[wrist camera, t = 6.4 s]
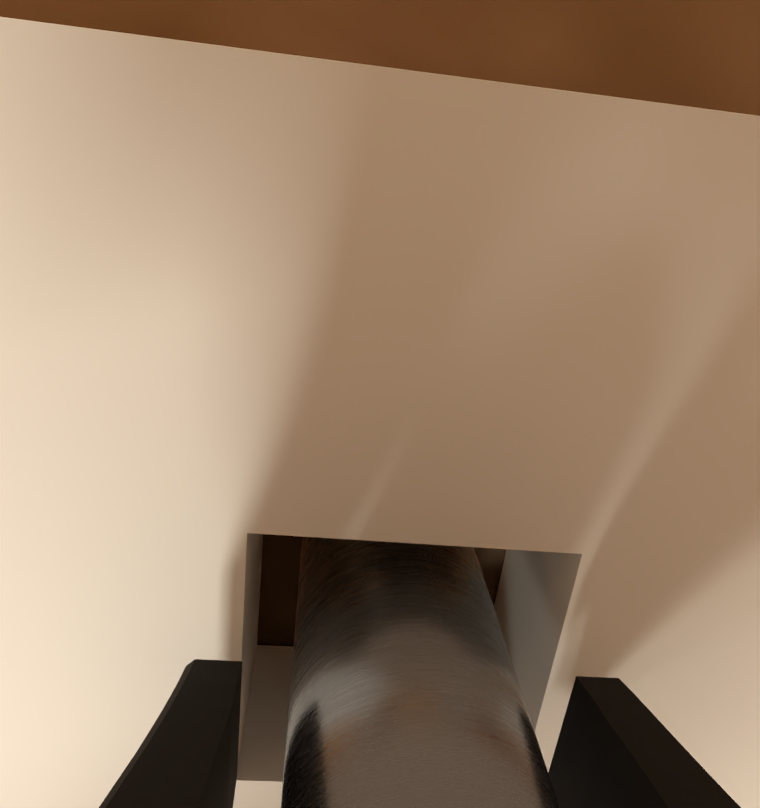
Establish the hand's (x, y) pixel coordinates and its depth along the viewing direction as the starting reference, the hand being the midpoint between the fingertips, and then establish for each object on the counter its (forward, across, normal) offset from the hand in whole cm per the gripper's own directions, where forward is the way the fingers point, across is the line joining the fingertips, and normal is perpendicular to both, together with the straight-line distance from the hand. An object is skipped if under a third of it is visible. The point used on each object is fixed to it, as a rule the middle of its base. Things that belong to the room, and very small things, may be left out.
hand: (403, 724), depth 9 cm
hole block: (+4, 0, 0) cm, 4 cm away
